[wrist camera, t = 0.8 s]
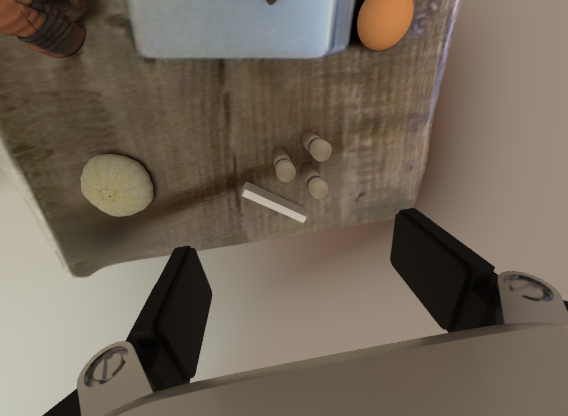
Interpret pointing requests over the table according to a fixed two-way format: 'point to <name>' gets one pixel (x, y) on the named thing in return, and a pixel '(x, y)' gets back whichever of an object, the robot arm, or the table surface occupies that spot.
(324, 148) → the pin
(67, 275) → the table surface
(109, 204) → the sea urchin shell
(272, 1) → the rhino figurine
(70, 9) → the rust brown arched piece
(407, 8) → the ball
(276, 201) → the rail
